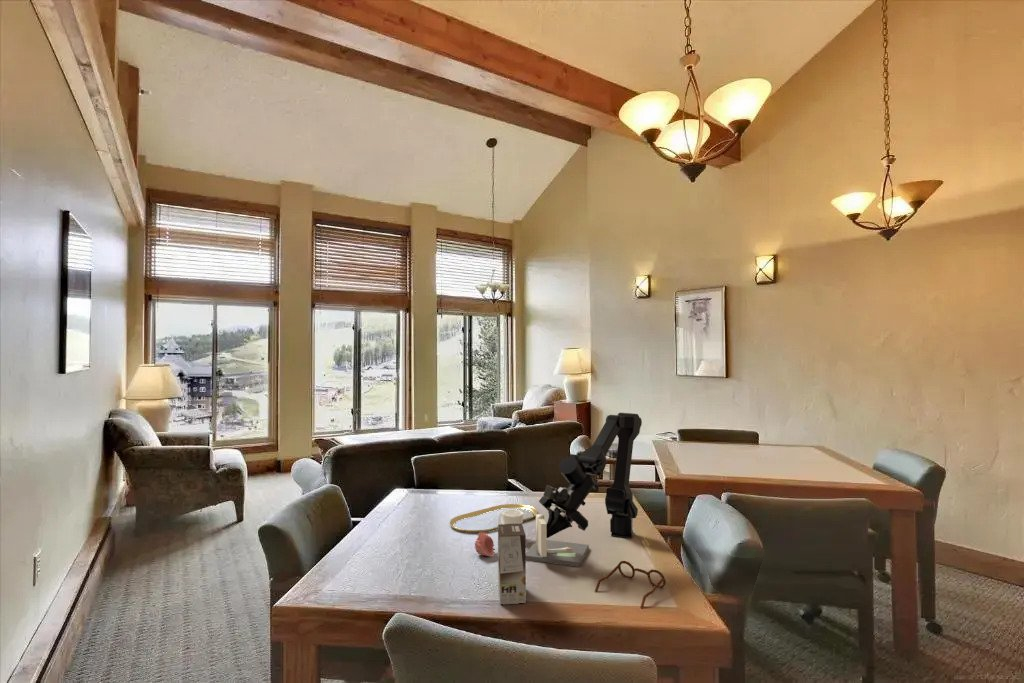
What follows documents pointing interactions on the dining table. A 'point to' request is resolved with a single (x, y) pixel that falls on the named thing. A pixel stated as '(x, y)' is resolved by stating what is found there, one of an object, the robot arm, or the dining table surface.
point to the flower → (484, 545)
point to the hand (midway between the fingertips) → (545, 536)
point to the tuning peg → (543, 537)
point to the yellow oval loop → (488, 511)
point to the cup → (511, 517)
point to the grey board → (560, 553)
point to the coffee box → (511, 563)
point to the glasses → (633, 576)
